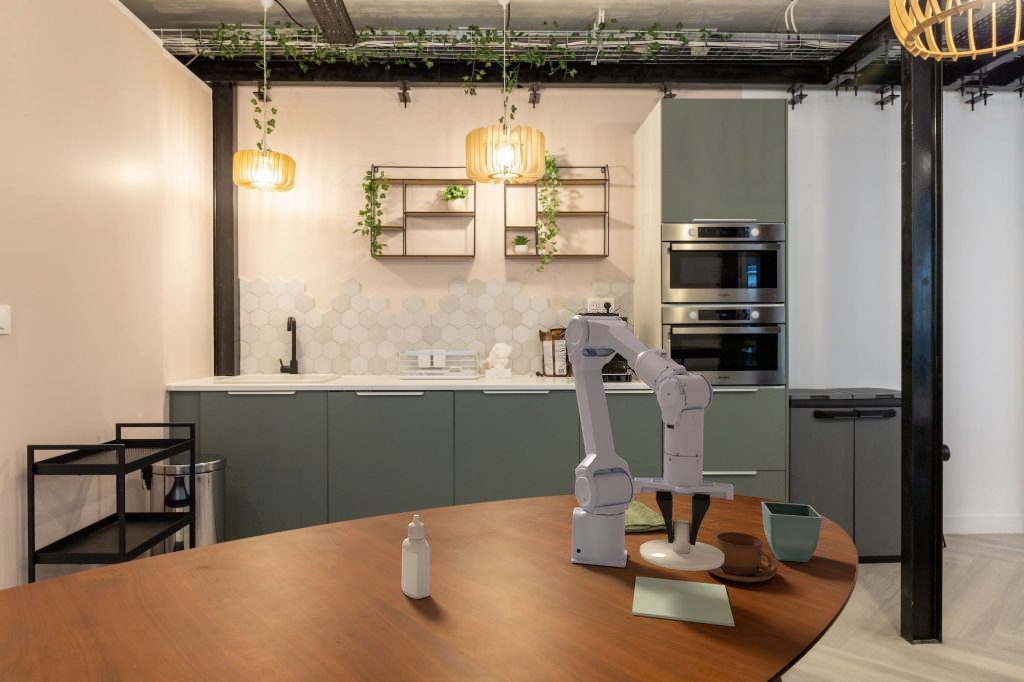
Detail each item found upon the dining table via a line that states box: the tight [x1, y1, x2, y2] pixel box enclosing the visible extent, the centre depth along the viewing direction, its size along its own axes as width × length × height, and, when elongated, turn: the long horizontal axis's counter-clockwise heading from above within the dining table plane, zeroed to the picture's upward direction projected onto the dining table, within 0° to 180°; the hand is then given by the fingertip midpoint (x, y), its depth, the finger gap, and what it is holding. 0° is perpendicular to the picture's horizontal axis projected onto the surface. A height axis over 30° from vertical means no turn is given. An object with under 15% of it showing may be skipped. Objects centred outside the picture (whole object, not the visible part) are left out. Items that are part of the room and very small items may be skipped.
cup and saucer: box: [707, 531, 778, 583], centre depth 108 cm, size 12×12×6 cm
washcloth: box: [625, 500, 667, 534], centre depth 138 cm, size 13×18×3 cm
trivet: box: [631, 575, 735, 627], centre depth 97 cm, size 14×14×1 cm
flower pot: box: [761, 501, 823, 563], centre depth 116 cm, size 9×9×9 cm
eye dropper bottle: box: [401, 514, 431, 600], centre depth 98 cm, size 4×6×12 cm
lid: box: [639, 519, 724, 572], centre depth 97 cm, size 12×12×5 cm
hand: (681, 542), depth 97 cm, fingers closed on lid, 3 cm apart
